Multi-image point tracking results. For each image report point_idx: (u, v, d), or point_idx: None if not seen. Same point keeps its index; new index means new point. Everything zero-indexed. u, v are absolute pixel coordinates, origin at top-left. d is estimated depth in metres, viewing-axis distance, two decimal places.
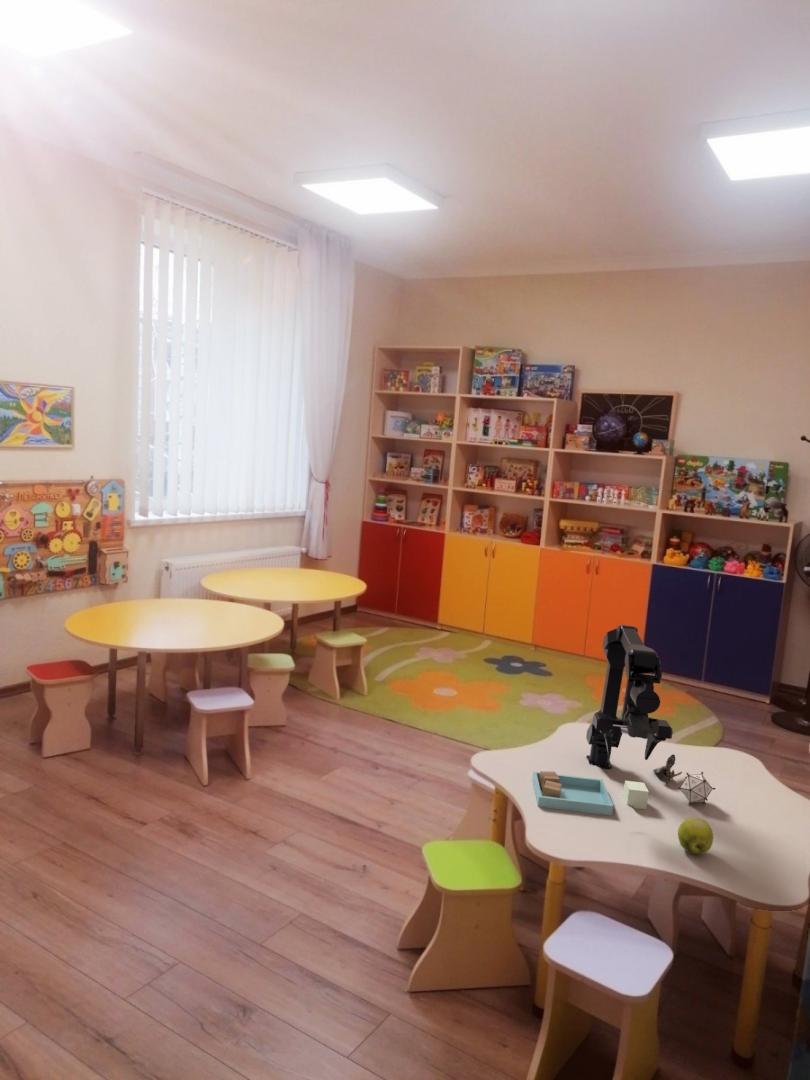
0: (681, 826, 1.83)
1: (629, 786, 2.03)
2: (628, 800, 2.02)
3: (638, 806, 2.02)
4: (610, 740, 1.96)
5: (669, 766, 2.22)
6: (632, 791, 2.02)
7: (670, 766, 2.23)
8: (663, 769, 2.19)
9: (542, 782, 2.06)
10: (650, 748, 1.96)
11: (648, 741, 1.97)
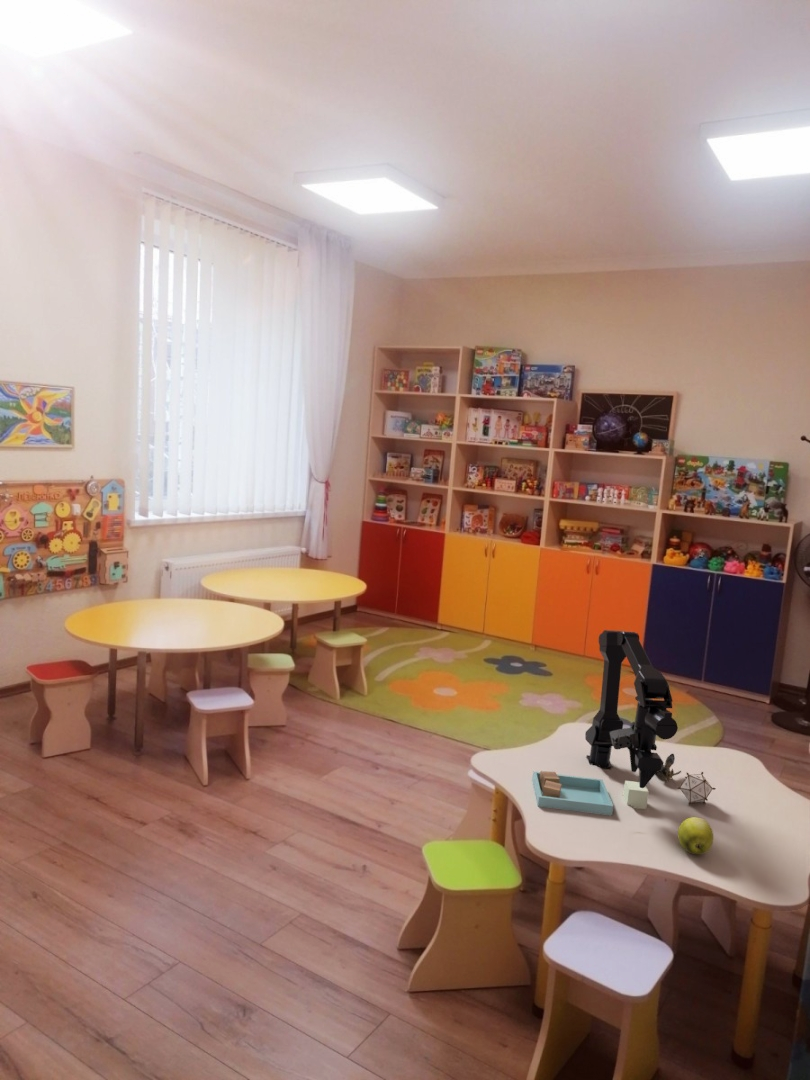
0: (681, 826, 1.83)
1: (629, 786, 2.03)
2: (628, 800, 2.02)
3: (638, 806, 2.02)
4: (630, 754, 2.08)
5: (668, 765, 2.23)
6: (632, 791, 2.02)
7: (669, 765, 2.23)
8: None
9: (542, 782, 2.06)
10: (639, 775, 1.99)
11: None
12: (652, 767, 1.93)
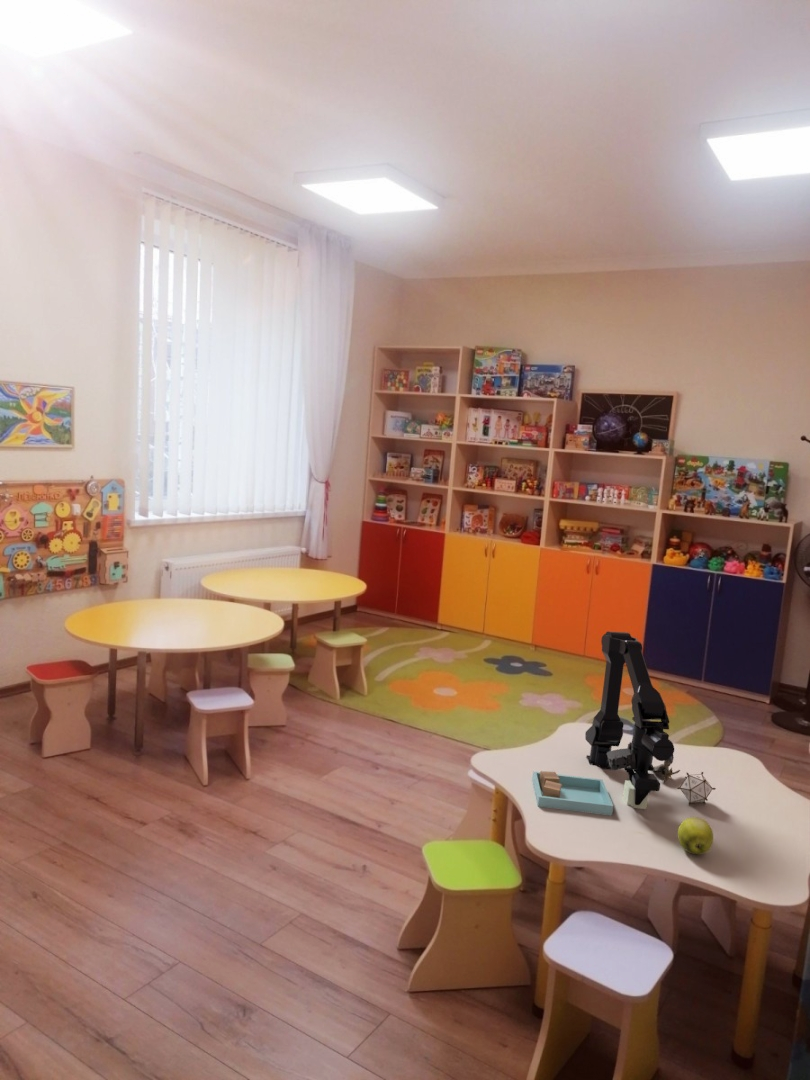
0: (681, 826, 1.83)
1: (629, 786, 2.03)
2: (628, 800, 2.02)
3: (638, 806, 2.02)
4: (629, 778, 2.07)
5: (667, 764, 2.23)
6: (632, 790, 2.02)
7: (668, 764, 2.24)
8: (661, 767, 2.20)
9: (542, 782, 2.06)
10: None
11: None
12: (649, 788, 1.94)
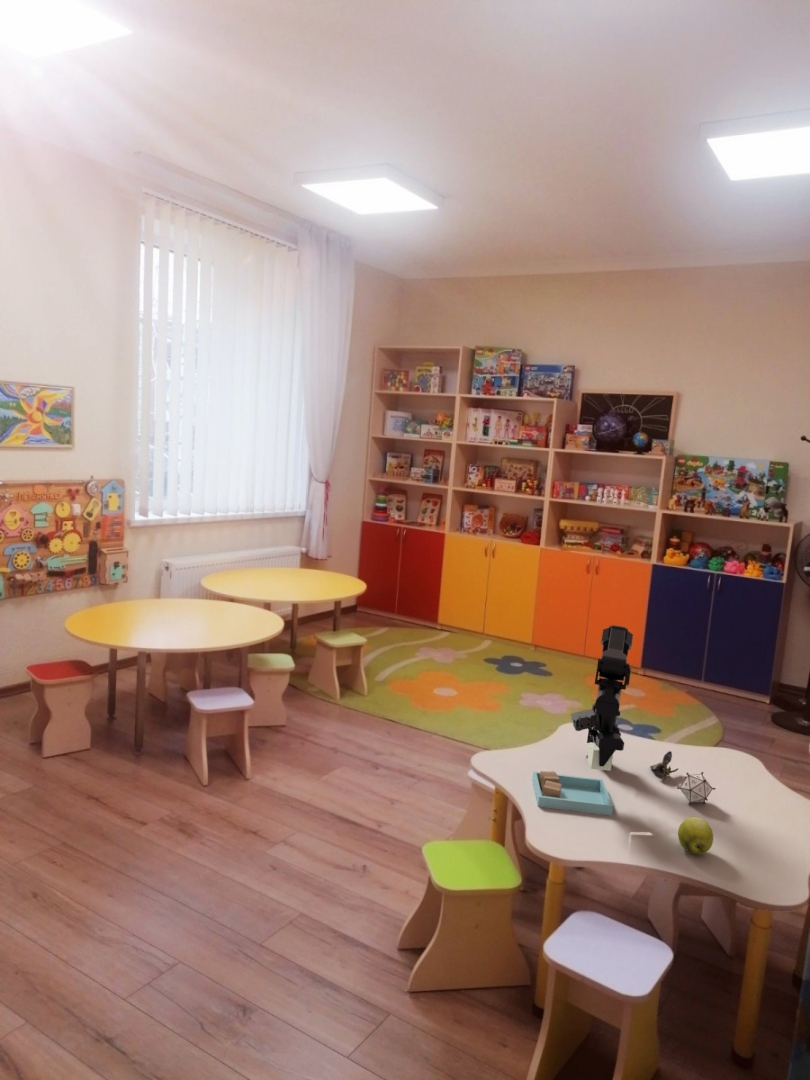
0: (681, 826, 1.83)
1: (594, 747, 2.00)
2: (593, 761, 1.99)
3: (603, 767, 1.99)
4: (594, 740, 2.04)
5: (666, 763, 2.24)
6: (596, 752, 1.99)
7: (667, 763, 2.25)
8: (660, 766, 2.21)
9: (542, 782, 2.06)
10: (599, 753, 1.98)
11: None
12: (613, 748, 1.91)
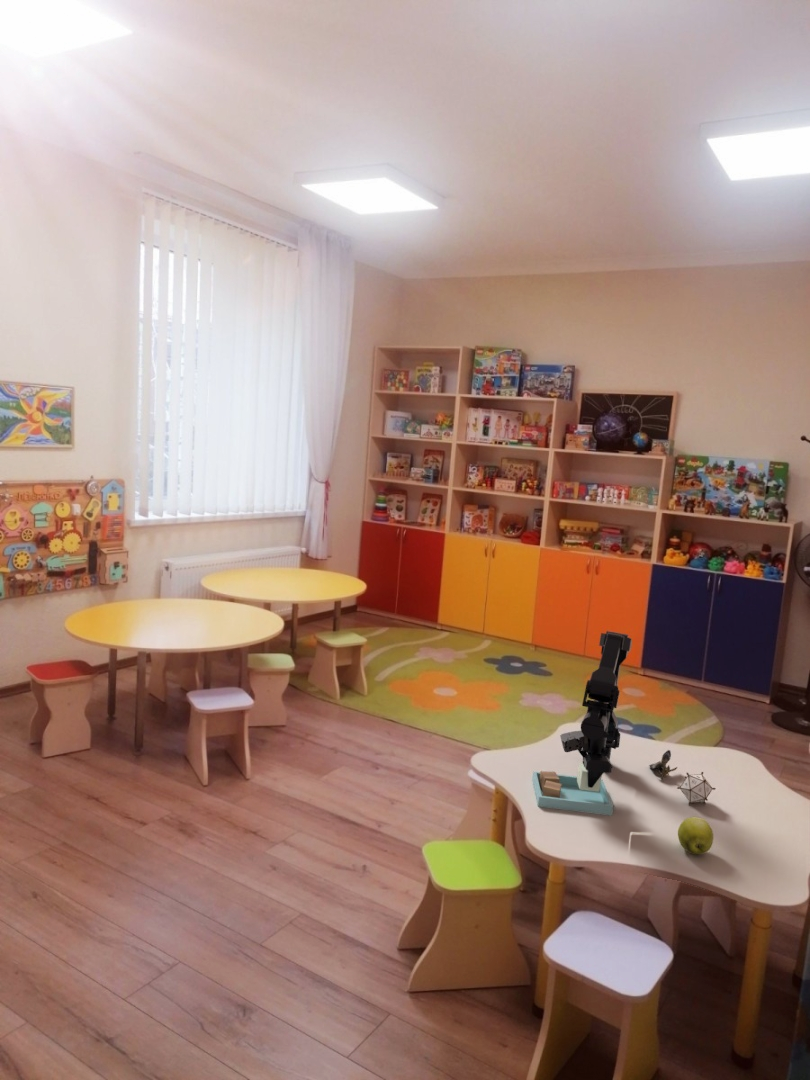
0: (681, 826, 1.83)
1: (582, 768, 2.01)
2: (582, 783, 2.00)
3: (591, 788, 2.00)
4: (584, 760, 2.05)
5: (665, 762, 2.25)
6: (585, 773, 2.00)
7: (666, 762, 2.25)
8: (659, 764, 2.22)
9: (542, 782, 2.06)
10: (587, 774, 1.99)
11: None
12: (600, 770, 1.92)
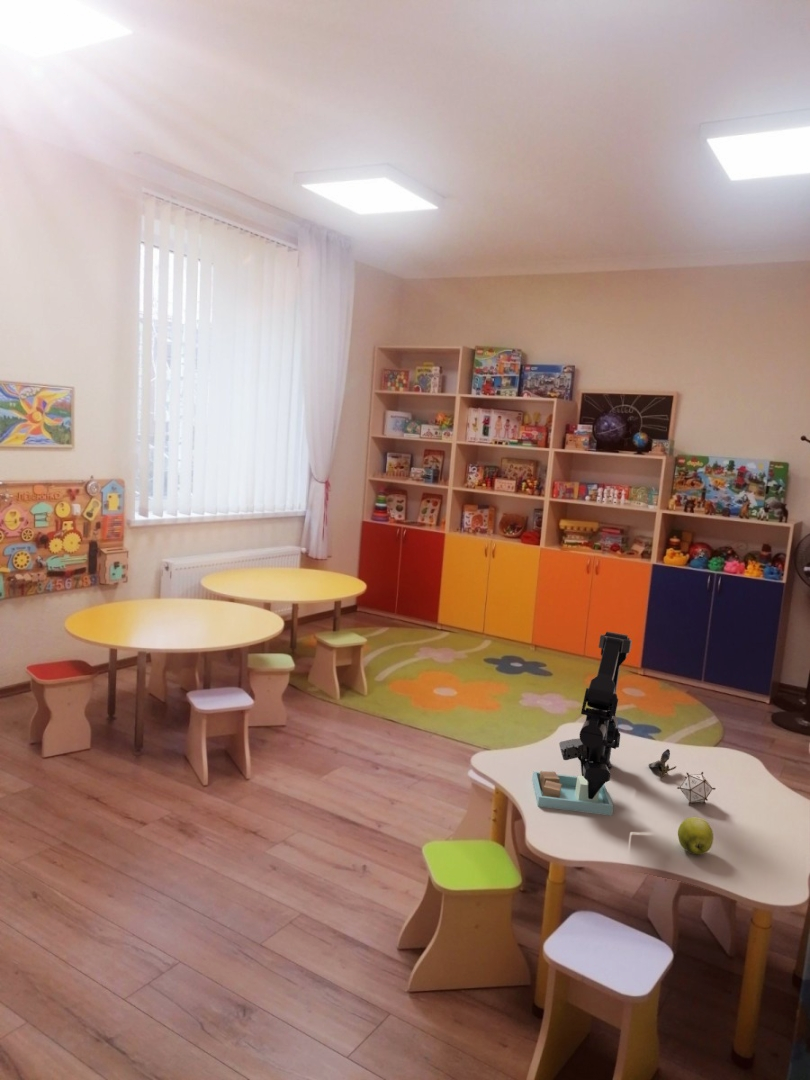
0: (681, 826, 1.83)
1: (581, 781, 2.02)
2: (580, 795, 2.01)
3: (590, 801, 2.01)
4: (581, 765, 2.08)
5: (664, 761, 2.26)
6: (583, 786, 2.00)
7: (665, 761, 2.26)
8: (658, 763, 2.22)
9: (542, 782, 2.06)
10: None
11: None
12: (599, 778, 1.93)
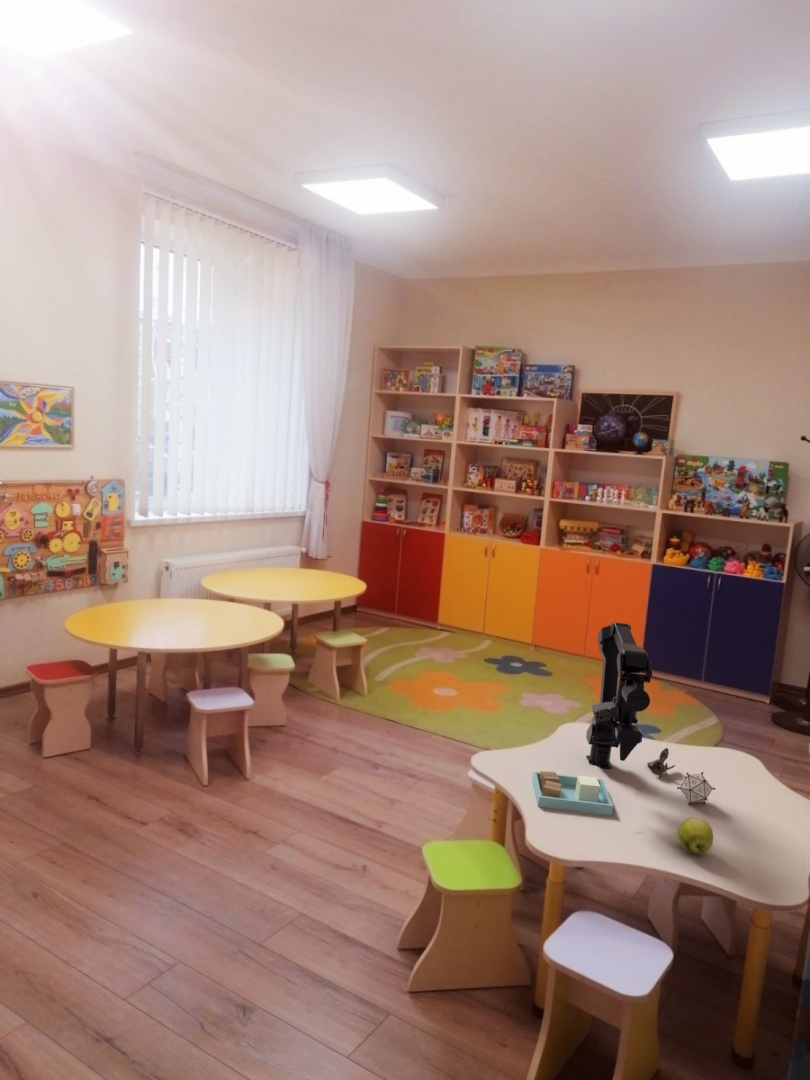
0: (681, 826, 1.83)
1: (581, 781, 2.02)
2: (580, 795, 2.01)
3: (590, 801, 2.01)
4: (613, 728, 2.10)
5: (662, 759, 2.26)
6: (583, 786, 2.00)
7: (663, 759, 2.27)
8: (656, 762, 2.23)
9: (542, 782, 2.06)
10: None
11: None
12: (631, 739, 1.95)
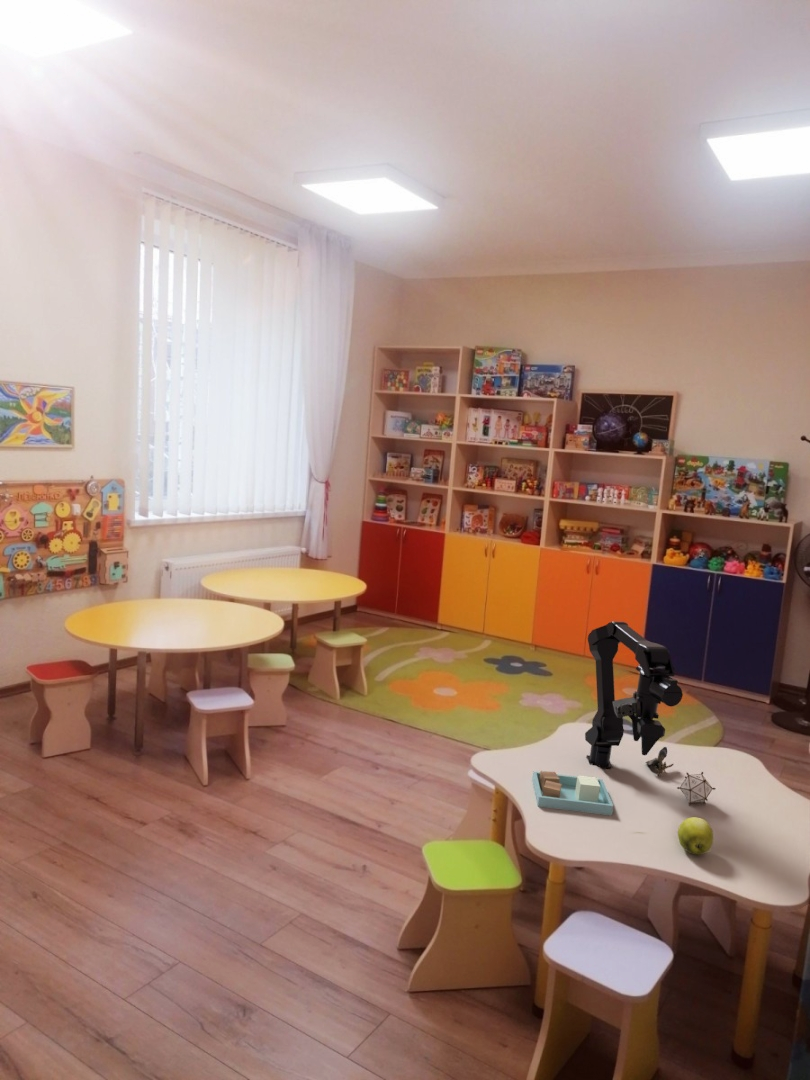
0: (681, 826, 1.83)
1: (581, 781, 2.02)
2: (580, 795, 2.01)
3: (590, 801, 2.01)
4: (633, 724, 2.13)
5: (661, 758, 2.27)
6: (583, 786, 2.00)
7: (662, 758, 2.28)
8: (655, 761, 2.24)
9: (542, 782, 2.06)
10: (641, 742, 2.03)
11: None
12: (654, 734, 1.98)
